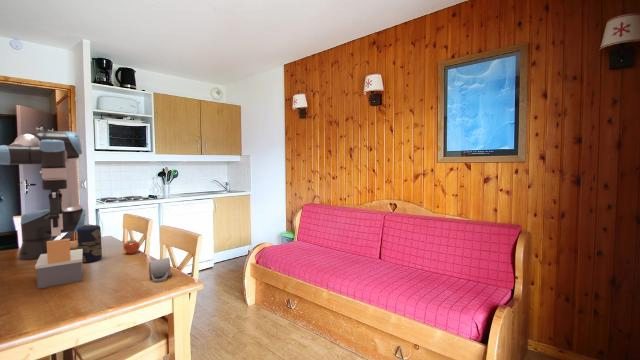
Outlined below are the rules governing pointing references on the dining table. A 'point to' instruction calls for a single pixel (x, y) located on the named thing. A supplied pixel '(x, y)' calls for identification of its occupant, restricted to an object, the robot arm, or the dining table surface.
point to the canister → (90, 242)
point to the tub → (59, 275)
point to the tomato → (131, 246)
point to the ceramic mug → (159, 269)
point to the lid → (59, 254)
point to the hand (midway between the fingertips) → (57, 232)
